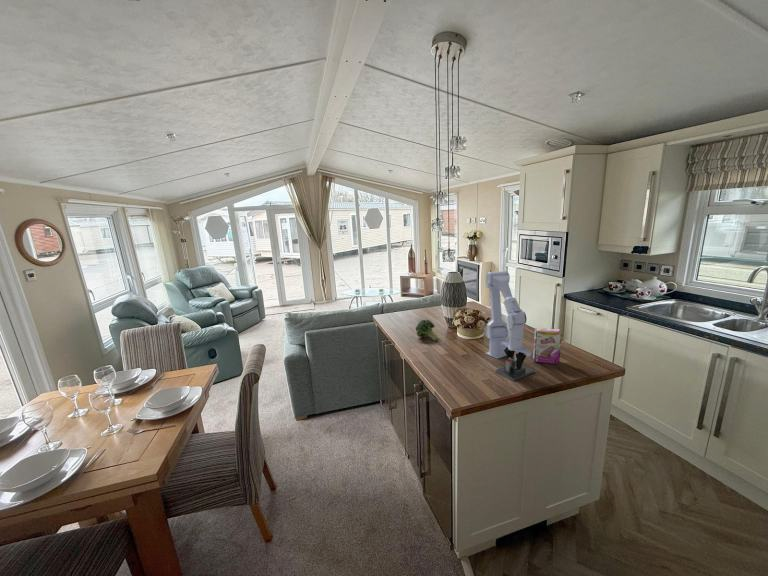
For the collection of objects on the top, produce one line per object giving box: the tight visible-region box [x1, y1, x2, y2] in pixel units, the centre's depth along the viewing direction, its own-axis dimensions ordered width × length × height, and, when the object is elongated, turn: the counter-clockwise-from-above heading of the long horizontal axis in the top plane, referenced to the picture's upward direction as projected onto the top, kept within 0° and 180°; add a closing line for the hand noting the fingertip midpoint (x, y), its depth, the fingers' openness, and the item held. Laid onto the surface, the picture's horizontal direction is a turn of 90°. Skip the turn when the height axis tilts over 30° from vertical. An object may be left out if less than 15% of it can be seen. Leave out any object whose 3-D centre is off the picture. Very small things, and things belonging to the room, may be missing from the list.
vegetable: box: [415, 319, 438, 341], centre depth 190 cm, size 12×13×15 cm
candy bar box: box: [532, 327, 563, 365], centre depth 151 cm, size 11×5×16 cm, turn 71°
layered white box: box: [507, 354, 521, 369], centre depth 143 cm, size 5×4×6 cm
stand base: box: [495, 358, 535, 382], centre depth 143 cm, size 14×10×7 cm
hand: (515, 365), depth 143 cm, fingers closed on layered white box, 4 cm apart
